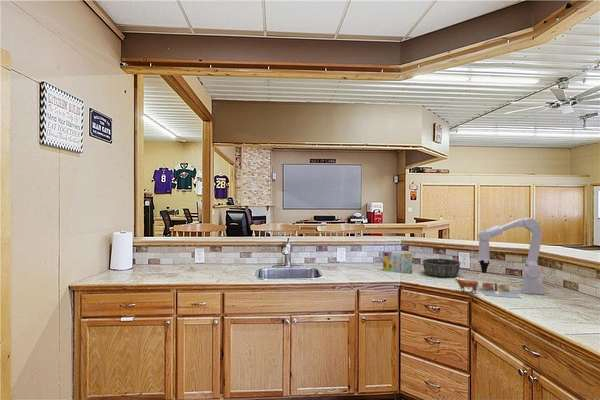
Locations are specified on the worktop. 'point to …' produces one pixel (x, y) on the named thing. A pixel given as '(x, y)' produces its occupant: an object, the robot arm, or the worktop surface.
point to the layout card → (500, 293)
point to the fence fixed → (501, 287)
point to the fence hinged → (487, 286)
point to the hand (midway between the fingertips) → (484, 272)
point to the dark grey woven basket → (441, 267)
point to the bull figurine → (466, 284)
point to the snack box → (397, 262)
